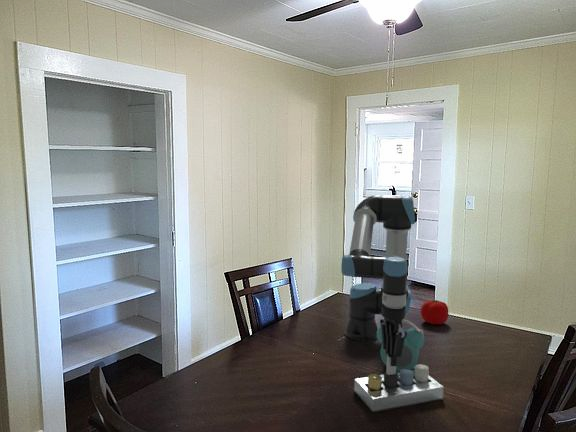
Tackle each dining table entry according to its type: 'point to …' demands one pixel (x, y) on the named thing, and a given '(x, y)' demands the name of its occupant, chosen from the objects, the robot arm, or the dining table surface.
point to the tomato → (434, 312)
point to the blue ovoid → (406, 377)
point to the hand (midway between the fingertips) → (391, 373)
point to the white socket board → (398, 393)
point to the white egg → (421, 373)
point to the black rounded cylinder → (390, 380)
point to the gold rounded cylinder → (374, 382)
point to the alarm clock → (405, 347)
